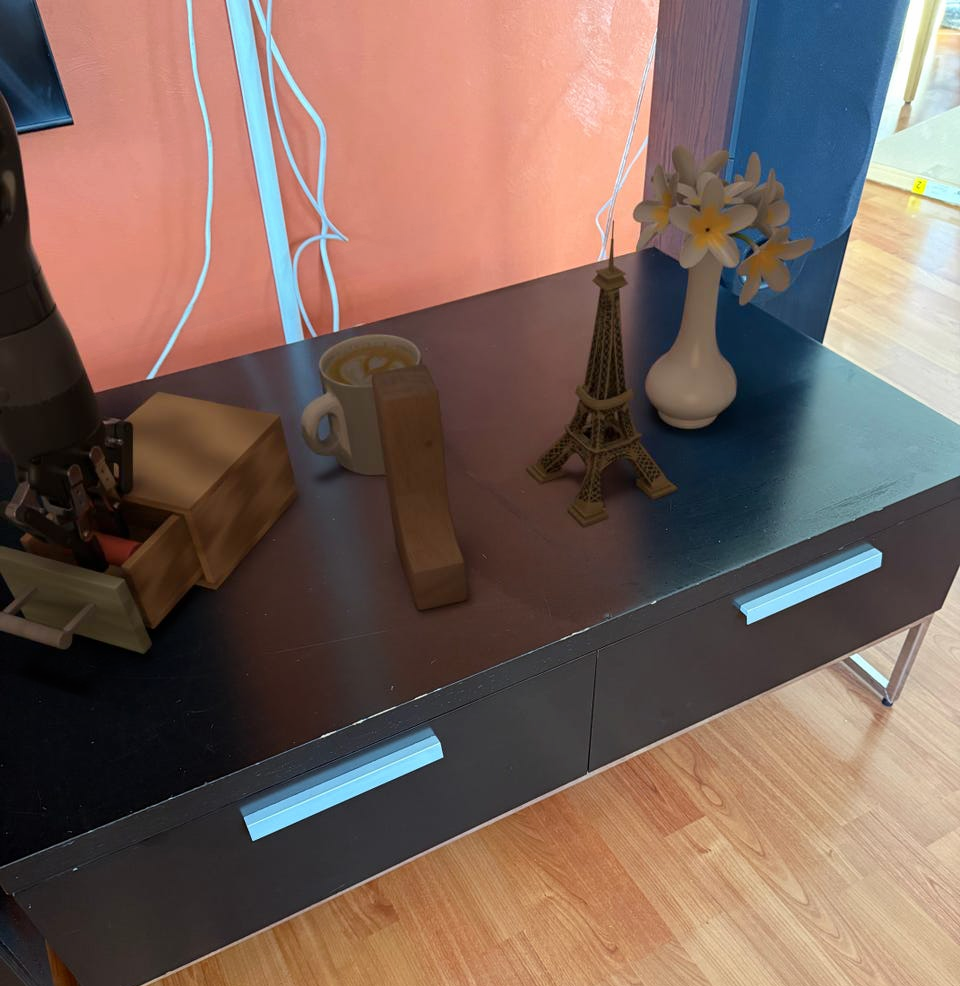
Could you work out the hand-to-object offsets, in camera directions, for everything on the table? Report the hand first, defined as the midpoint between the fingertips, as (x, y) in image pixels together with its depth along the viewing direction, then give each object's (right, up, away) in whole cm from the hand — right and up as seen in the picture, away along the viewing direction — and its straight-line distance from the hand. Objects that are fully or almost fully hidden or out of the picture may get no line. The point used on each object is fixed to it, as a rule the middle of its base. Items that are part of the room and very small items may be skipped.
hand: (108, 557), depth 80 cm
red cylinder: (0, +1, 0) cm, 1 cm away
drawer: (0, -4, +2) cm, 4 cm away
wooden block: (+27, -1, +4) cm, 27 cm away
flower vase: (+54, +17, +20) cm, 60 cm away
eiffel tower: (+43, +9, +13) cm, 46 cm away
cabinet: (+4, +4, +11) cm, 12 cm away
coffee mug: (+20, +12, +18) cm, 29 cm away
